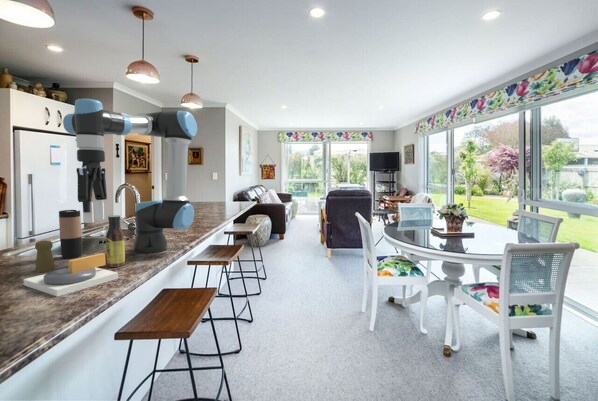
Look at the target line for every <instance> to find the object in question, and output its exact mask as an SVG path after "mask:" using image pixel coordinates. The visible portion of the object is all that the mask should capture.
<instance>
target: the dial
mask: <svg viewBox="0 0 598 401" xmlns="http://www.w3.org/2000/svg"><path fill="white" fill-rule="evenodd" d="M67 260H68V261H67V262H68V267H65V268H60V269H56V270H51V271H49V272H48V273H45V274H46V275H44V274H43V275H44V283H46V284H52V285H60V284H70V283H76V282H80V281H84V280H87V279H90V278H92V277H94V276H95V275H96V269H95V267H96V268H99V267H102V266H106V265H107V264H106V263H107V260H106V253H103V252H101V253H95V254H92V255H87V256H81V257H78V258H73V259H67Z"/></svg>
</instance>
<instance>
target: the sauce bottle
mask: <svg viewBox="0 0 598 401" xmlns="http://www.w3.org/2000/svg"><path fill="white" fill-rule="evenodd" d="M107 220H108V229H107V232H106V235H105V245H106V246H105V247H106V263H107V264H106V265H107V267H109V268H119V267H123V266H124V265H125V264H126V262H125V261H126V250H125V249H126V248H125V245H126V244H125V233H124V231H123V228H121V215H119V214H114V215H109V216H108V217H107Z"/></svg>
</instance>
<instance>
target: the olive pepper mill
mask: <svg viewBox="0 0 598 401" xmlns="http://www.w3.org/2000/svg"><path fill="white" fill-rule="evenodd" d="M34 248H35V250H36V262H35V268H34V269H35V273H46V272H52V271H55V269H56V264H55V260H54V255H53V251H52V248H53V242H52V240H47V239H46V240H39V241H37V242H36V243H35V245H34Z"/></svg>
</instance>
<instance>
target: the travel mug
mask: <svg viewBox="0 0 598 401" xmlns="http://www.w3.org/2000/svg"><path fill="white" fill-rule="evenodd" d="M81 221H82V220H81V210H77V209H63V210H59V211H58V222H59V225H58V226H59V241H60V252H61V258H62V259H64V260H73V259H77V258H82V257H83V239H82V237H83V235H82V222H81Z"/></svg>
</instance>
